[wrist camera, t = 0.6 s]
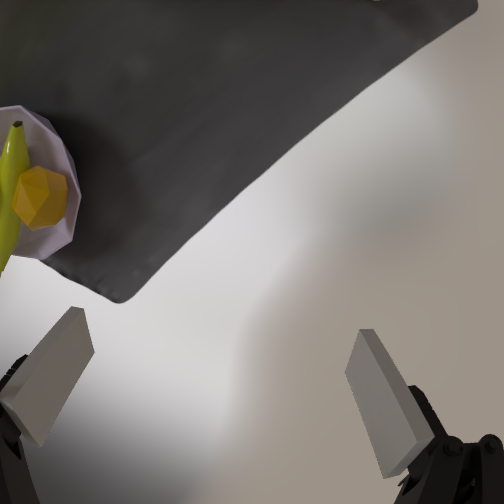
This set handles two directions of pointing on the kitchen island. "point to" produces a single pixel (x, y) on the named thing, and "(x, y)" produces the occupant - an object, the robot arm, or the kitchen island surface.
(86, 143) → the kitchen island surface
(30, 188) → the fruit bowl
